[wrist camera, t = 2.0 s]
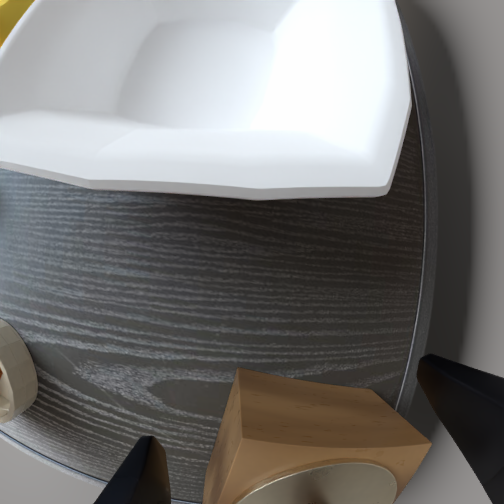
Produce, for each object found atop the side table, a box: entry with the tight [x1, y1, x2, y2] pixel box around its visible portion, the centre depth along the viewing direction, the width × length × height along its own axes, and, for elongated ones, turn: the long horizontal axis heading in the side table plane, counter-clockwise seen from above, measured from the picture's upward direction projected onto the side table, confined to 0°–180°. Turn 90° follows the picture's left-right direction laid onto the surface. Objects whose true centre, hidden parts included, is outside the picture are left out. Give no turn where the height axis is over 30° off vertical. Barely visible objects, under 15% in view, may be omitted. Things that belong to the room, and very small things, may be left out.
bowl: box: [0, 0, 412, 200], centre depth 14 cm, size 24×25×11 cm
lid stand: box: [203, 367, 432, 504], centre depth 15 cm, size 11×11×9 cm
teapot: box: [0, 0, 35, 48], centre depth 13 cm, size 14×14×11 cm
